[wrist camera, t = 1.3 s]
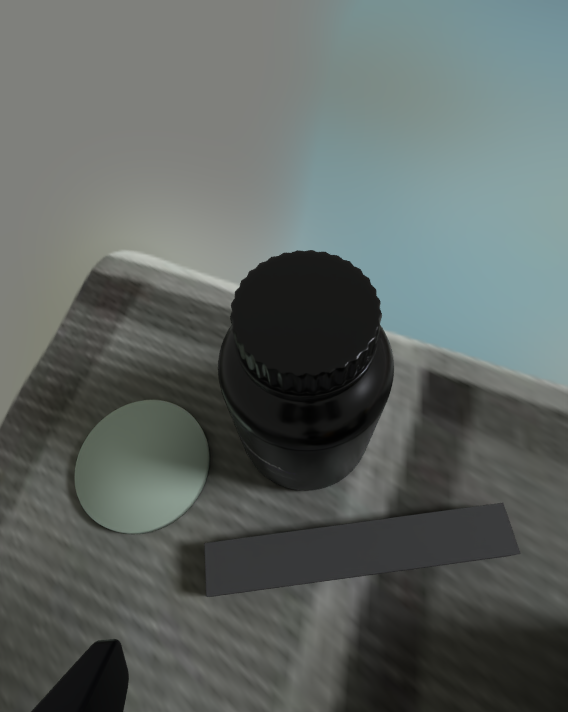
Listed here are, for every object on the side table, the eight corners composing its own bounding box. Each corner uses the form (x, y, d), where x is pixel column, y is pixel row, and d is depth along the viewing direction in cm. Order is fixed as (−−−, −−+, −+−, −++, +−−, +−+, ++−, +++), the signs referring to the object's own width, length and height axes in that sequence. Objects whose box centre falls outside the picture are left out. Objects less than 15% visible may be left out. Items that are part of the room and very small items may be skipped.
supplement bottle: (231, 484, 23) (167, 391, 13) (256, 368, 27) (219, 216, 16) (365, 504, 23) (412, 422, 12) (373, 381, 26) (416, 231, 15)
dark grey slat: (489, 509, 23) (503, 502, 21) (504, 556, 22) (520, 553, 20) (212, 546, 22) (204, 543, 21) (214, 596, 21) (206, 596, 20)
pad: (154, 562, 22) (150, 562, 21) (52, 487, 24) (46, 485, 23) (235, 441, 24) (233, 438, 24) (137, 383, 26) (133, 379, 26)
